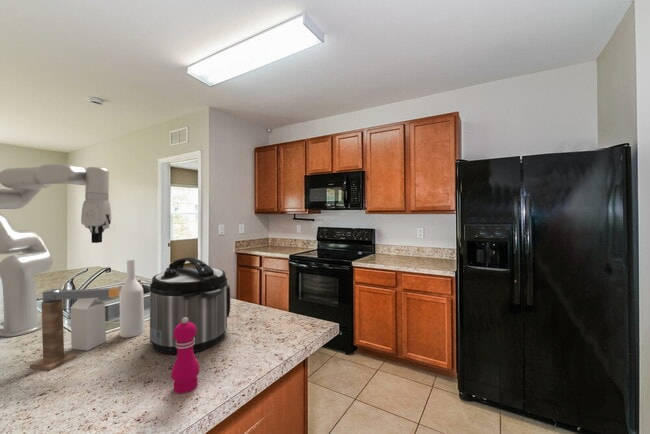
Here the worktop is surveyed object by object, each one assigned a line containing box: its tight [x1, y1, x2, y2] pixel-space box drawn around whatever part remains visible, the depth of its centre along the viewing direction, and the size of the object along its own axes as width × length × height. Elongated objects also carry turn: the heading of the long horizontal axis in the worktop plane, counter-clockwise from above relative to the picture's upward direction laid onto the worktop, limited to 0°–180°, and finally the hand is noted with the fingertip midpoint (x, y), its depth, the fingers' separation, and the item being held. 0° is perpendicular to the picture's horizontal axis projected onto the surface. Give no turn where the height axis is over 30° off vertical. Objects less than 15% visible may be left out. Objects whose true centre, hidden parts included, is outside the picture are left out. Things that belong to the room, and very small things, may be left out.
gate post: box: [29, 299, 77, 371], centre depth 96 cm, size 8×8×20 cm
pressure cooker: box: [149, 257, 231, 355], centre depth 113 cm, size 30×28×32 cm
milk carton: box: [70, 298, 107, 352], centre depth 108 cm, size 7×7×19 cm
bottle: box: [118, 258, 145, 338], centre depth 118 cm, size 8×8×30 cm
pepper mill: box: [170, 317, 200, 394], centre depth 83 cm, size 7×7×20 cm
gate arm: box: [42, 286, 121, 302], centre depth 97 cm, size 21×4×3 cm, turn 101°
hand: (96, 242), depth 120 cm, fingers closed
